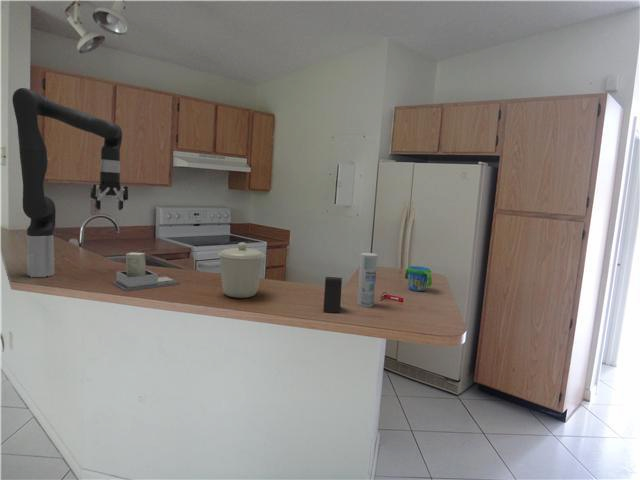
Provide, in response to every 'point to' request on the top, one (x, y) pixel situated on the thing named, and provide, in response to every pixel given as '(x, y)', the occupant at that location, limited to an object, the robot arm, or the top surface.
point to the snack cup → (418, 278)
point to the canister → (241, 271)
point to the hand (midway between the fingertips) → (109, 209)
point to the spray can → (367, 279)
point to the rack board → (142, 281)
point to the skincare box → (135, 264)
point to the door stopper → (332, 294)
